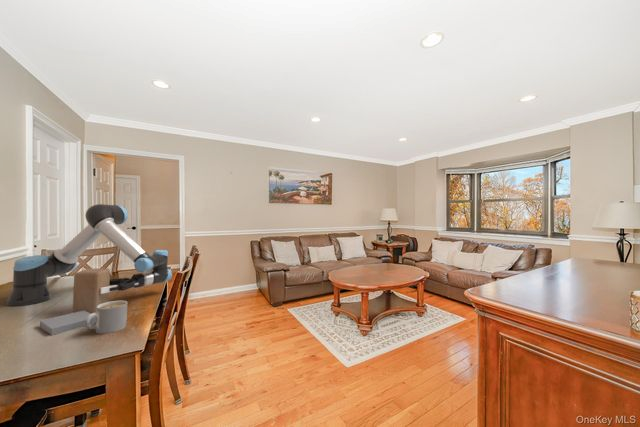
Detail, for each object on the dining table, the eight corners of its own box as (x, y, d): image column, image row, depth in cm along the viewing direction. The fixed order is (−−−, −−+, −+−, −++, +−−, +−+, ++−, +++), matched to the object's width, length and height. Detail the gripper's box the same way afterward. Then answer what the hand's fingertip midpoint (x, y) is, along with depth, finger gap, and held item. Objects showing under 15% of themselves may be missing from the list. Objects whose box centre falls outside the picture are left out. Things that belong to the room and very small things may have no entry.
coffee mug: (123, 321, 112) (124, 298, 112) (128, 328, 105) (130, 304, 105) (82, 331, 101) (83, 306, 102) (85, 339, 95) (86, 313, 95)
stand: (39, 326, 104) (39, 320, 104) (83, 315, 116) (83, 310, 116) (51, 335, 97) (52, 328, 97) (97, 322, 109) (97, 316, 109)
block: (96, 314, 118) (98, 272, 118) (71, 315, 115) (73, 272, 116) (109, 307, 127) (111, 268, 128) (86, 308, 125) (88, 268, 126)
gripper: (154, 290, 135) (105, 300, 116) (130, 282, 147) (83, 291, 128) (154, 276, 135) (106, 284, 117) (130, 270, 147) (83, 277, 128)
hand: (94, 288), depth 122 cm, fingers open, 13 cm apart
